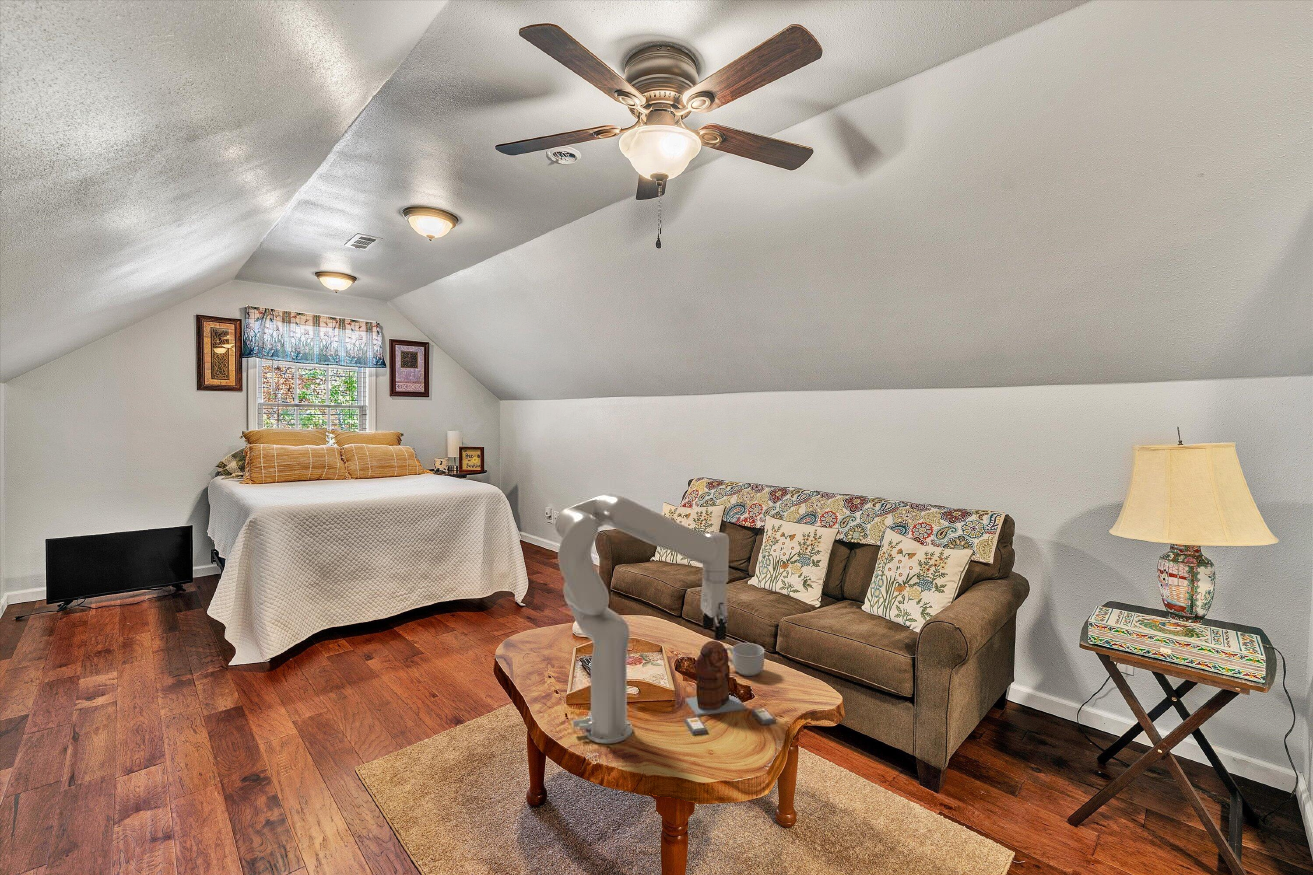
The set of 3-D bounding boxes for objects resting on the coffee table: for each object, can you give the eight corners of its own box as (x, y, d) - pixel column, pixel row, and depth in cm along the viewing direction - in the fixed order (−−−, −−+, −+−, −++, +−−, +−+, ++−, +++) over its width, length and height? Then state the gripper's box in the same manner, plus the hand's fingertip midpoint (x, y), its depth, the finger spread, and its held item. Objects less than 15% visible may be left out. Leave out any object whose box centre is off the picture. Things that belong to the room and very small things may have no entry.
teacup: (769, 670, 194) (769, 646, 194) (756, 681, 185) (756, 656, 185) (731, 661, 202) (731, 638, 202) (717, 672, 193) (717, 648, 193)
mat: (696, 715, 162) (696, 713, 162) (685, 700, 172) (685, 698, 172) (746, 709, 166) (746, 707, 166) (732, 694, 176) (732, 692, 176)
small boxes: (692, 734, 152) (692, 730, 152) (684, 722, 159) (684, 717, 159) (775, 722, 159) (775, 718, 159) (764, 711, 165) (764, 706, 165)
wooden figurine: (712, 714, 162) (712, 650, 162) (693, 707, 166) (693, 644, 166) (733, 699, 172) (734, 638, 172) (715, 693, 176) (715, 633, 175)
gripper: (693, 569, 176) (691, 625, 176) (714, 582, 160) (712, 645, 160) (716, 568, 178) (715, 624, 178) (739, 581, 162) (737, 643, 162)
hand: (713, 633), depth 169 cm, fingers open, 9 cm apart
